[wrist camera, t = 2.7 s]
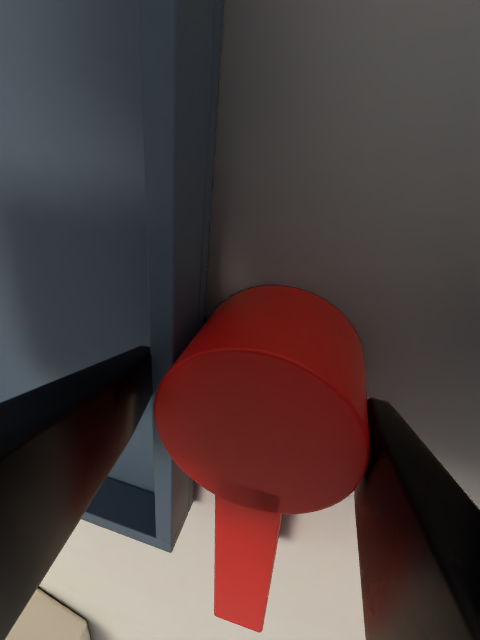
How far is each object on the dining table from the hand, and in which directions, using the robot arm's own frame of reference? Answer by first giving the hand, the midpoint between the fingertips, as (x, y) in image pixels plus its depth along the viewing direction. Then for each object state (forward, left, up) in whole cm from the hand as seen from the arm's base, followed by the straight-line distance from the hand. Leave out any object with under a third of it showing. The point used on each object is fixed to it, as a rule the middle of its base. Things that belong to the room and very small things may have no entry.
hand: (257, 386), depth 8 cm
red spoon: (-3, 0, -2) cm, 3 cm away
